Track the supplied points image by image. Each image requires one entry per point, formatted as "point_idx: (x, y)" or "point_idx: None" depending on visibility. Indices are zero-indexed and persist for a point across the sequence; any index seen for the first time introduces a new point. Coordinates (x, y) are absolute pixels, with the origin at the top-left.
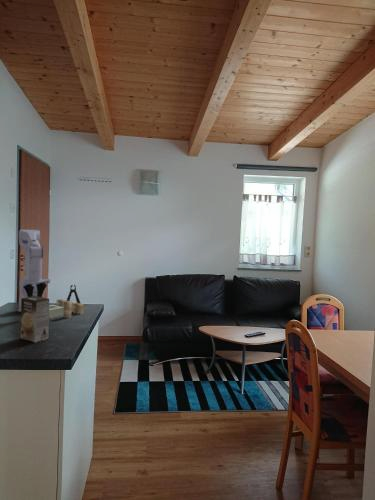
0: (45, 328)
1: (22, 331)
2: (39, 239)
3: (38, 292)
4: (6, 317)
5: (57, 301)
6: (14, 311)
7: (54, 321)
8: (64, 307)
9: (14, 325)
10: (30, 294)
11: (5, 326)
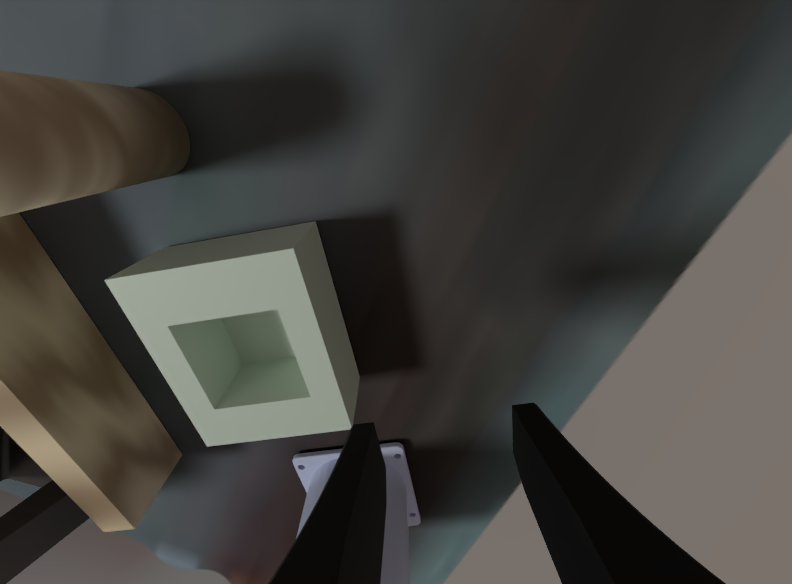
0: None
1: None
2: None
3: (372, 573)
4: None
5: (137, 506)
6: (434, 520)
7: (318, 63)
8: (87, 132)
9: (662, 189)
10: (622, 496)
11: (725, 208)
